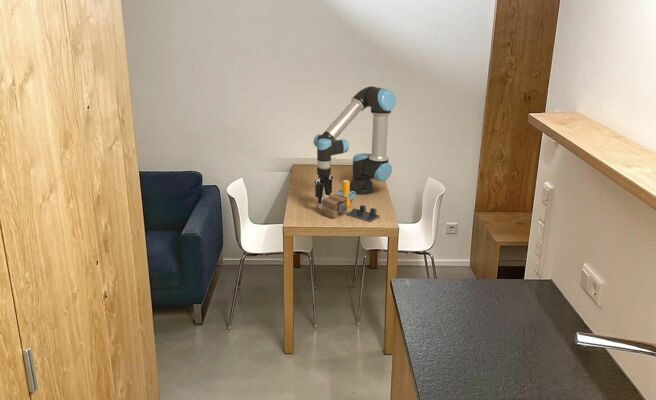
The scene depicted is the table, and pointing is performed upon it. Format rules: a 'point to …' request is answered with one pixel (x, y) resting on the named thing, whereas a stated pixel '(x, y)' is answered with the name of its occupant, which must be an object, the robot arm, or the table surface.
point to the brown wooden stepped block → (333, 206)
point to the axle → (340, 206)
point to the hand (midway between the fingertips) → (323, 207)
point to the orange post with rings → (347, 192)
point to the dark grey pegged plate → (363, 214)
